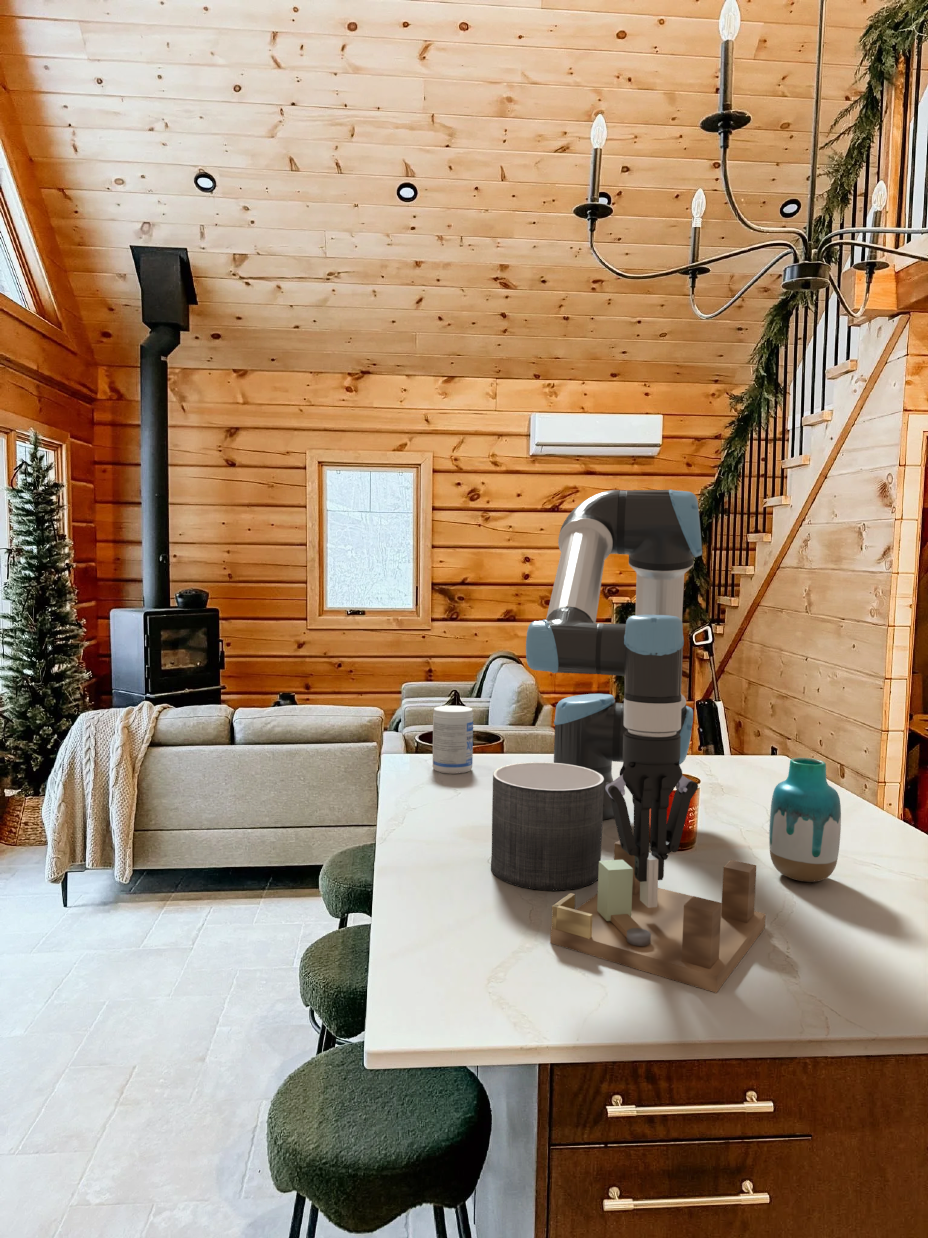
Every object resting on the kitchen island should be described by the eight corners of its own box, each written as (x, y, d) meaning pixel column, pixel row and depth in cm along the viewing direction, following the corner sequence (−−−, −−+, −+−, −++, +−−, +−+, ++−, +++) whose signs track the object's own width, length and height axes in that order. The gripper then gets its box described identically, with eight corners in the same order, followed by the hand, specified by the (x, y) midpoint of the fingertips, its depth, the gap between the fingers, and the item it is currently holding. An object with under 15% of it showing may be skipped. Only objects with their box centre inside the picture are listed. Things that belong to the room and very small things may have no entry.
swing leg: (630, 947, 107) (632, 892, 107) (597, 910, 118) (598, 861, 118) (656, 945, 108) (658, 891, 107) (620, 909, 119) (622, 859, 118)
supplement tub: (476, 774, 200) (477, 711, 199) (436, 775, 198) (437, 712, 197) (467, 764, 209) (468, 704, 208) (429, 765, 207) (430, 705, 206)
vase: (834, 871, 141) (841, 757, 140) (840, 895, 131) (847, 772, 130) (766, 862, 145) (772, 751, 143) (767, 885, 135) (773, 765, 133)
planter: (527, 899, 127) (530, 795, 126) (471, 861, 143) (473, 768, 142) (623, 881, 135) (627, 783, 134) (560, 846, 151) (563, 758, 150)
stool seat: (550, 943, 113) (552, 876, 112) (617, 891, 131) (619, 833, 130) (716, 993, 101) (719, 918, 100) (764, 927, 119) (768, 864, 118)
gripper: (683, 724, 119) (679, 889, 121) (596, 727, 116) (593, 896, 118) (709, 734, 112) (705, 910, 113) (617, 738, 109) (614, 918, 111)
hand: (648, 903), depth 116 cm, fingers closed
